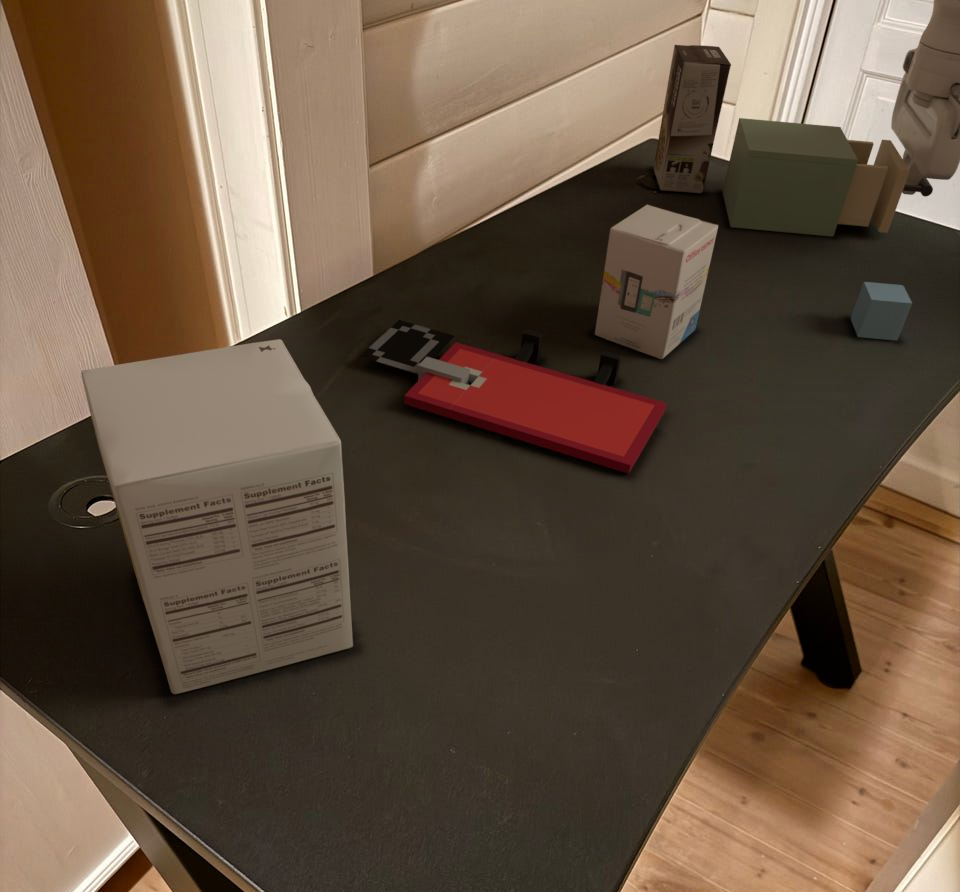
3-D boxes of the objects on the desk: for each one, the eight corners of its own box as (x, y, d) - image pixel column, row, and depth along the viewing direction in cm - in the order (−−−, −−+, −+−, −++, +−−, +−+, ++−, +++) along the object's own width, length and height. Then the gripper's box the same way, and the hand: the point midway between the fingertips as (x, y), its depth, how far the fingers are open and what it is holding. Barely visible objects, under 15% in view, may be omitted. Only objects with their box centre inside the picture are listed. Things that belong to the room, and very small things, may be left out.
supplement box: (135, 575, 71) (76, 366, 58) (304, 537, 75) (283, 334, 63) (170, 699, 63) (109, 487, 50) (358, 648, 67) (345, 440, 54)
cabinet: (818, 200, 133) (840, 126, 126) (833, 236, 124) (858, 159, 117) (722, 191, 133) (739, 117, 126) (730, 227, 124) (749, 149, 117)
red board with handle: (407, 320, 101) (336, 386, 91) (407, 295, 99) (334, 361, 89) (674, 397, 93) (627, 478, 84) (680, 371, 91) (633, 452, 82)
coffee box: (704, 194, 132) (732, 64, 120) (659, 191, 132) (682, 60, 120) (695, 170, 138) (721, 45, 127) (652, 168, 138) (674, 41, 127)
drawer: (902, 203, 131) (924, 143, 126) (921, 236, 123) (946, 173, 118) (781, 192, 132) (797, 131, 126) (792, 224, 124) (810, 161, 118)
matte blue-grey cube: (888, 322, 107) (903, 285, 104) (897, 340, 104) (912, 303, 101) (850, 318, 107) (863, 281, 104) (857, 337, 104) (871, 299, 101)
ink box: (629, 307, 106) (647, 201, 98) (697, 330, 103) (722, 223, 95) (592, 335, 101) (608, 226, 93) (662, 361, 98) (685, 250, 90)
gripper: (998, 101, 107) (949, 223, 117) (952, 53, 122) (911, 165, 132) (943, 96, 108) (898, 219, 117) (903, 49, 122) (866, 162, 132)
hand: (905, 190), depth 125 cm, fingers closed, pressing on drawer
